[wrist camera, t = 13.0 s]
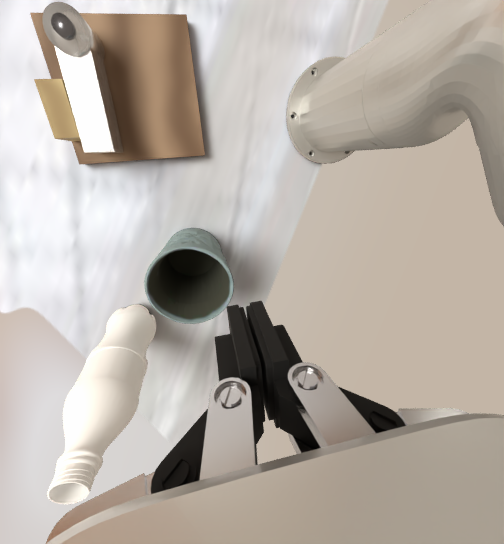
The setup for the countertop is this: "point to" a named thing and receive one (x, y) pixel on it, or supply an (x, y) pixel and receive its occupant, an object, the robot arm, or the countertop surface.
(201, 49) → the countertop surface
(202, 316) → the green plant pot
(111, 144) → the latch bar
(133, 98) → the lock base
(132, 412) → the water bottle
